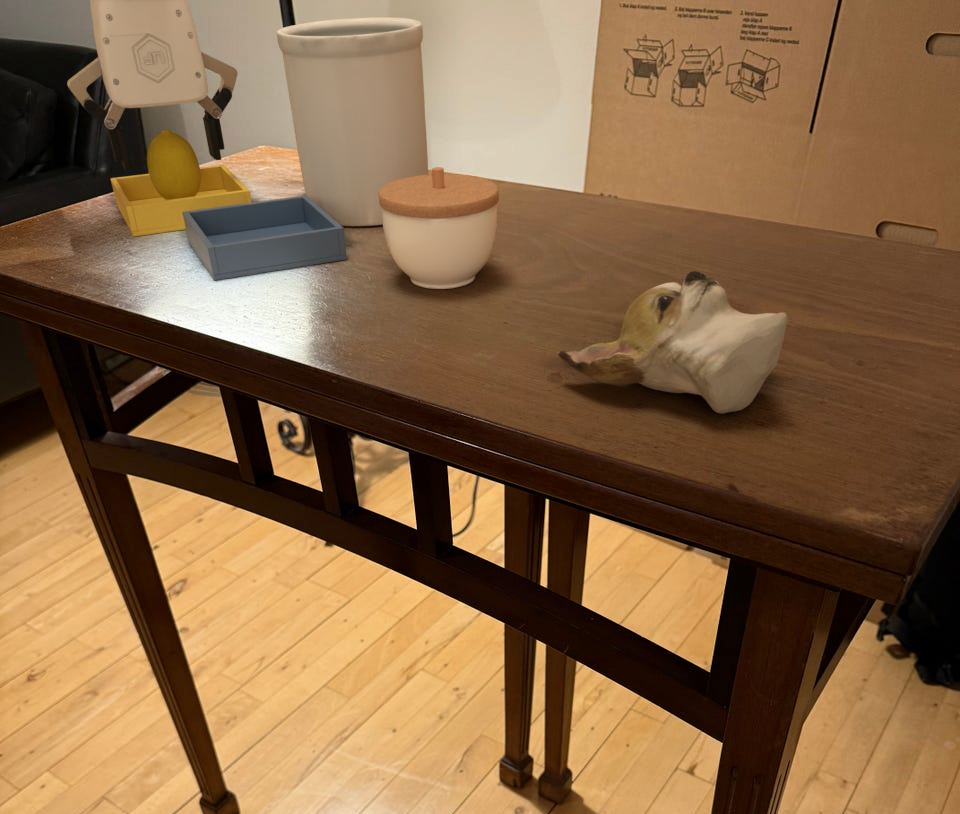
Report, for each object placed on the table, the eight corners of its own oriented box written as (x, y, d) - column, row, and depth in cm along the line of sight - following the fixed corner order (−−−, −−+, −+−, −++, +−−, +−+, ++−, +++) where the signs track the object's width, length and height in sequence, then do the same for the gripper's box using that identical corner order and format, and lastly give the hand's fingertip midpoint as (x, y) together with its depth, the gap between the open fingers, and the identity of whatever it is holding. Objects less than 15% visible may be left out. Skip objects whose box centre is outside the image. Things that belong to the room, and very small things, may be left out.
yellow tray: (133, 236, 97) (125, 206, 95) (117, 206, 106) (110, 178, 104) (254, 219, 101) (249, 190, 99) (229, 191, 110) (224, 164, 108)
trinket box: (362, 281, 85) (350, 171, 79) (439, 252, 91) (434, 148, 85) (446, 307, 80) (441, 191, 74) (522, 274, 86) (523, 165, 80)
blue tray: (214, 280, 86) (207, 247, 84) (188, 242, 95) (182, 211, 93) (347, 259, 90) (343, 227, 88) (310, 224, 99) (306, 195, 97)
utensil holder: (276, 222, 100) (247, 32, 89) (342, 188, 111) (323, 14, 99) (396, 235, 96) (381, 37, 84) (452, 198, 106) (446, 17, 95)
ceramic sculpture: (747, 312, 54) (551, 273, 62) (730, 447, 59) (552, 394, 67) (830, 267, 60) (641, 237, 68) (808, 394, 65) (635, 351, 73)
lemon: (214, 209, 103) (199, 129, 98) (167, 218, 100) (148, 137, 95) (197, 198, 106) (181, 121, 101) (150, 207, 104) (132, 128, 99)
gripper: (41, -22, 84) (94, 179, 95) (227, -31, 89) (257, 161, 100) (36, -28, 89) (87, 164, 100) (211, -36, 95) (242, 147, 106)
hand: (172, 162), depth 100 cm, fingers open, 9 cm apart
